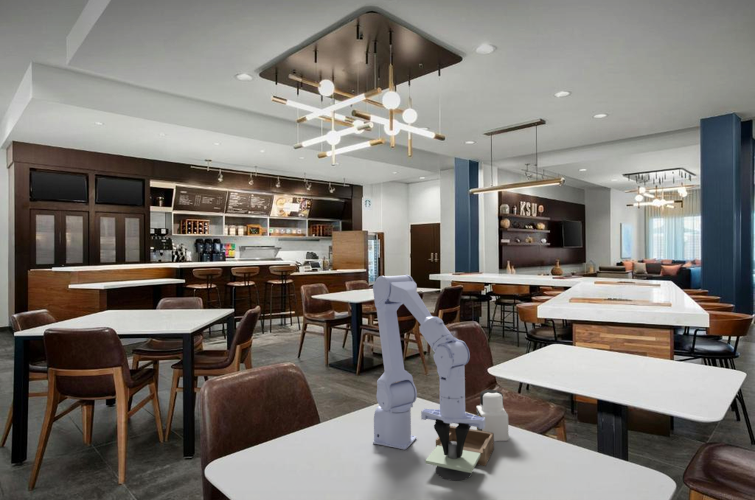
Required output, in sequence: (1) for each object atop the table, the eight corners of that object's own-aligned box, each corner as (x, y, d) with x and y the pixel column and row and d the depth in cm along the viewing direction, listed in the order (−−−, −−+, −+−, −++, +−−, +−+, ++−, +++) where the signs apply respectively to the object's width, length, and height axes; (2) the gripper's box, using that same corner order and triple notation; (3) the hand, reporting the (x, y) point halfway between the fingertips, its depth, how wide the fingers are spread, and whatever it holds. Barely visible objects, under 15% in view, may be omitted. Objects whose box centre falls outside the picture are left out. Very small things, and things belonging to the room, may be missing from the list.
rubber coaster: (430, 476, 99) (430, 474, 99) (441, 460, 106) (441, 459, 106) (466, 483, 95) (466, 481, 95) (475, 467, 103) (475, 465, 103)
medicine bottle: (476, 430, 124) (475, 387, 124) (502, 430, 124) (501, 387, 124) (481, 441, 117) (480, 396, 117) (509, 441, 116) (508, 395, 117)
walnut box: (447, 440, 117) (447, 425, 117) (493, 449, 112) (493, 432, 112) (435, 456, 108) (435, 439, 108) (485, 466, 103) (484, 448, 103)
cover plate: (437, 448, 107) (437, 432, 107) (480, 456, 102) (480, 440, 102) (425, 463, 99) (425, 447, 99) (471, 473, 95) (471, 455, 95)
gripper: (416, 396, 100) (417, 456, 100) (479, 404, 94) (481, 468, 94) (426, 387, 107) (427, 443, 107) (487, 395, 100) (488, 455, 100)
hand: (453, 454), depth 101 cm, fingers closed on cover plate, 2 cm apart
